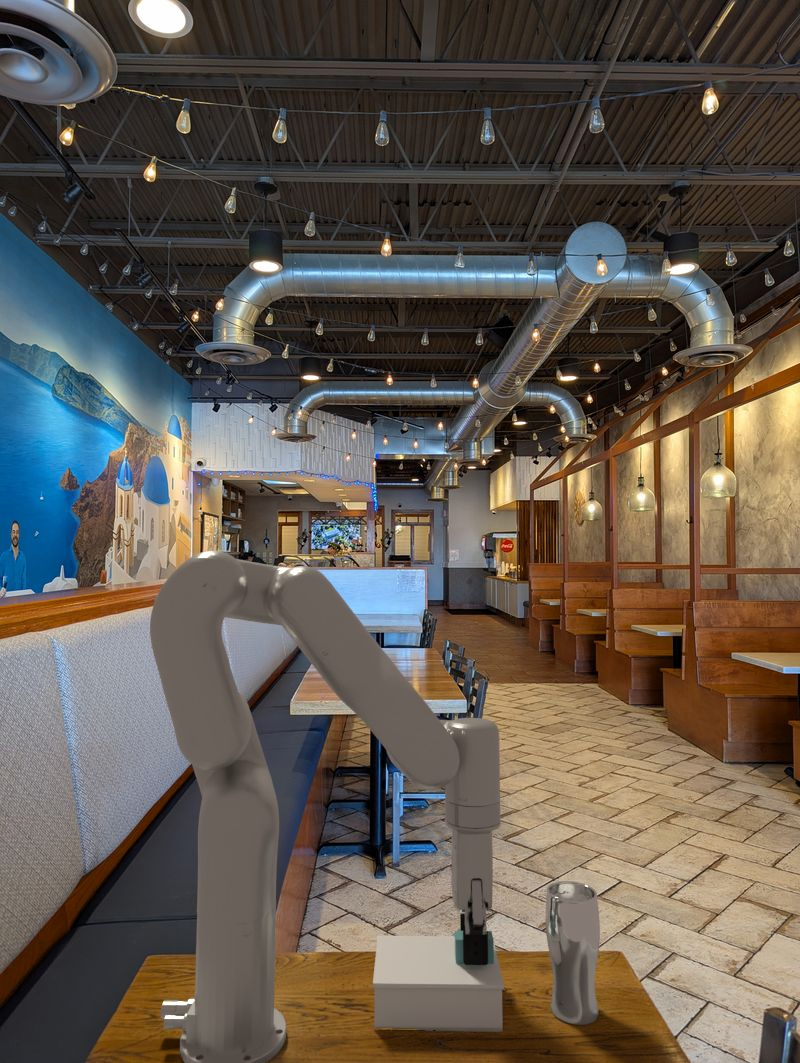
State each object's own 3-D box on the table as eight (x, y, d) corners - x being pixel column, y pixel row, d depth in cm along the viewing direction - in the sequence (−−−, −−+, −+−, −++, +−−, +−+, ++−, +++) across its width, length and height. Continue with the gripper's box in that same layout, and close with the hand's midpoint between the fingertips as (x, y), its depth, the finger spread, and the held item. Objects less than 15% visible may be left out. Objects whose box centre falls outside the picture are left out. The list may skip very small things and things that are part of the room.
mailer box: (374, 1030, 84) (374, 987, 85) (378, 980, 95) (378, 943, 96) (502, 1031, 84) (502, 989, 84) (492, 981, 95) (491, 944, 95)
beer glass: (610, 1026, 85) (606, 902, 86) (555, 1028, 85) (553, 903, 86) (591, 994, 92) (588, 879, 93) (541, 996, 92) (539, 880, 93)
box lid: (372, 987, 84) (372, 958, 85) (377, 939, 96) (377, 913, 97) (504, 989, 84) (503, 959, 84) (492, 940, 96) (492, 914, 96)
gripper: (442, 794, 100) (443, 923, 99) (448, 833, 84) (449, 990, 82) (492, 794, 100) (494, 924, 98) (508, 834, 83) (511, 990, 82)
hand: (473, 952), depth 90 cm, fingers open, 4 cm apart
